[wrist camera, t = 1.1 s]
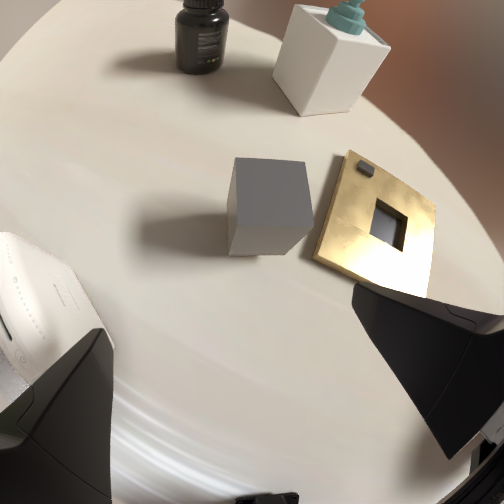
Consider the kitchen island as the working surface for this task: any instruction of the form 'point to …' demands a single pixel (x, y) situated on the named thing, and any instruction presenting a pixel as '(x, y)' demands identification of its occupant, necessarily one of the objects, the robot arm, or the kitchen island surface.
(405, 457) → the kitchen island surface
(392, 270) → the socket
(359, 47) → the soap bottle
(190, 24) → the supplement bottle
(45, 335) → the photo printer
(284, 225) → the plug
